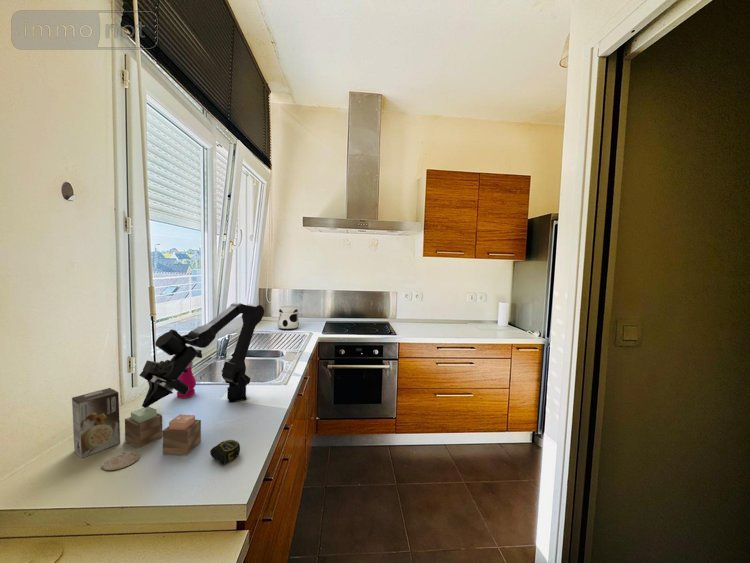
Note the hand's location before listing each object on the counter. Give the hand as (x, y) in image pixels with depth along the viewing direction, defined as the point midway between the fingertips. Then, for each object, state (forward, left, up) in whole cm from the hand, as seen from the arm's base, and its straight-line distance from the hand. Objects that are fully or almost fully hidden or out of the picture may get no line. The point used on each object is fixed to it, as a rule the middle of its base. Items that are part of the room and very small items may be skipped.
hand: (143, 407), depth 97 cm
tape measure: (-22, +21, -11) cm, 32 cm away
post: (0, 0, -10) cm, 10 cm away
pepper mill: (-9, -31, -10) cm, 34 cm away
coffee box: (+11, 0, -10) cm, 15 cm away
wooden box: (-11, +10, -10) cm, 18 cm away
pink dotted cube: (-11, +10, -6) cm, 16 cm away
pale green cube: (0, 0, -6) cm, 6 cm away
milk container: (-73, -145, -10) cm, 163 cm away
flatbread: (+3, +11, -11) cm, 16 cm away
